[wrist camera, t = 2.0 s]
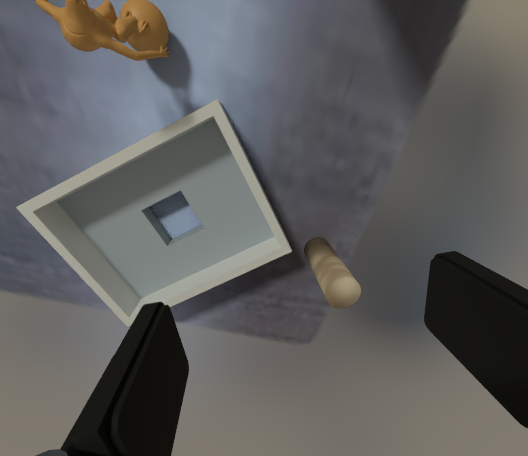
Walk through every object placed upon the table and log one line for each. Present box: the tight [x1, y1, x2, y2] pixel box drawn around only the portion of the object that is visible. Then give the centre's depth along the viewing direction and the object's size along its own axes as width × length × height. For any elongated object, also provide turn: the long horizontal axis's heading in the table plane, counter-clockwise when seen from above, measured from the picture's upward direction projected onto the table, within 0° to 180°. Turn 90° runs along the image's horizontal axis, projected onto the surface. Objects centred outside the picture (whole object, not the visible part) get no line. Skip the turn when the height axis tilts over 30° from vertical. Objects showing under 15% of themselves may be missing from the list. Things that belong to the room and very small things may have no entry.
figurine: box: [36, 0, 169, 61], centre depth 19 cm, size 8×6×12 cm
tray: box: [16, 99, 292, 327], centre depth 29 cm, size 22×17×6 cm
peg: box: [304, 238, 361, 308], centre depth 30 cm, size 4×4×10 cm
